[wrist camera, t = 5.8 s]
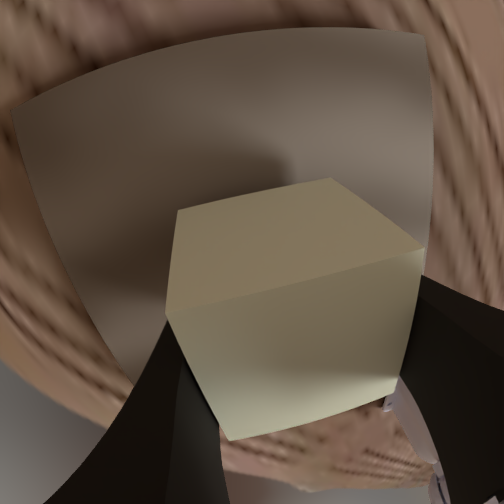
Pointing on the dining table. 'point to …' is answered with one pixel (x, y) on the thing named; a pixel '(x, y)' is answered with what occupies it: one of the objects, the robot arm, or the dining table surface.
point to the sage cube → (291, 304)
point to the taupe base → (218, 151)
